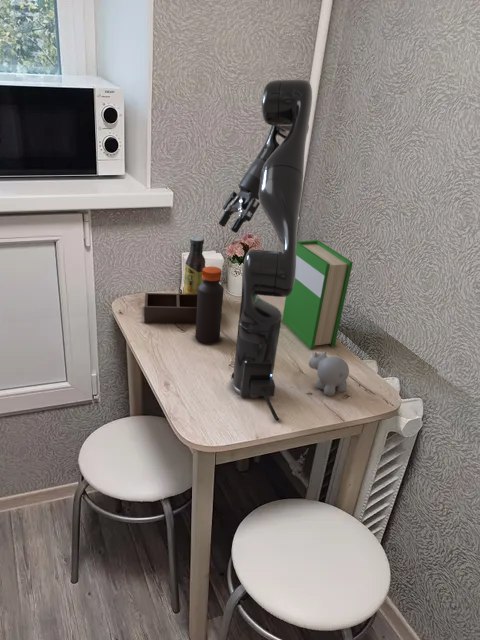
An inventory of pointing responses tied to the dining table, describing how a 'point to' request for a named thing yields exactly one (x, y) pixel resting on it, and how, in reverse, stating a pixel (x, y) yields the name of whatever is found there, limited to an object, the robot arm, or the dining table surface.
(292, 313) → the hardback book
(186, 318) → the divided storage box
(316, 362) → the round bodied animal figurine
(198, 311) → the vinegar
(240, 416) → the dining table surface
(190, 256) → the sauce bottle
